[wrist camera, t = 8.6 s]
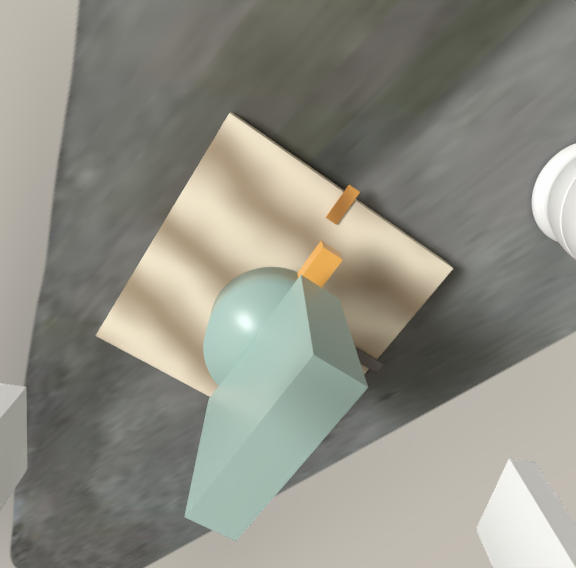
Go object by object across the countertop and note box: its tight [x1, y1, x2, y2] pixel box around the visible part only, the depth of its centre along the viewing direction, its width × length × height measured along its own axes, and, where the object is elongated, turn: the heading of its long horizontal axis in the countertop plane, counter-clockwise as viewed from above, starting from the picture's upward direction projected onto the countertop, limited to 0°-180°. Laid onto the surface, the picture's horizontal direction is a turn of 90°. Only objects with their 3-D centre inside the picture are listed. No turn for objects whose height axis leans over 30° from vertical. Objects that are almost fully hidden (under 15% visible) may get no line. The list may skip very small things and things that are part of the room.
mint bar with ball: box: [185, 240, 368, 541], centre depth 29 cm, size 9×13×14 cm
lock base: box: [96, 112, 453, 397], centre depth 39 cm, size 22×22×6 cm
